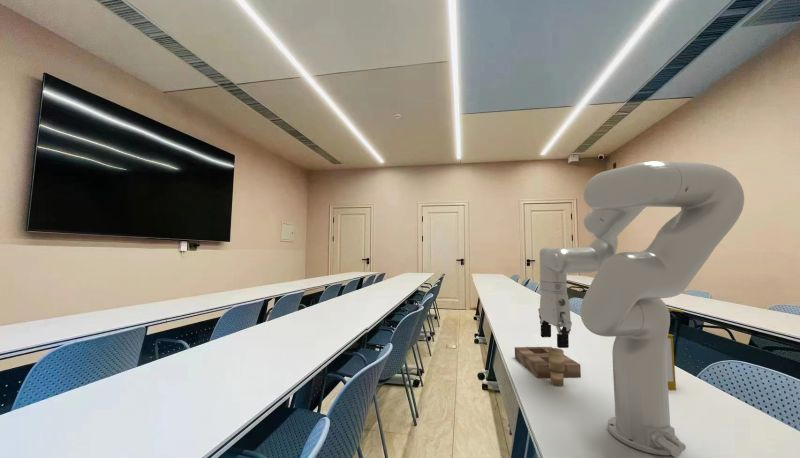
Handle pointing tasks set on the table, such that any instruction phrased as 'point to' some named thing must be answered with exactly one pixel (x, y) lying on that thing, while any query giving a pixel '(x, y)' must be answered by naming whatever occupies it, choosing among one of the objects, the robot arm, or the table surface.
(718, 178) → the robot arm
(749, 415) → the table surface
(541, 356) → the board
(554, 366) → the peg
